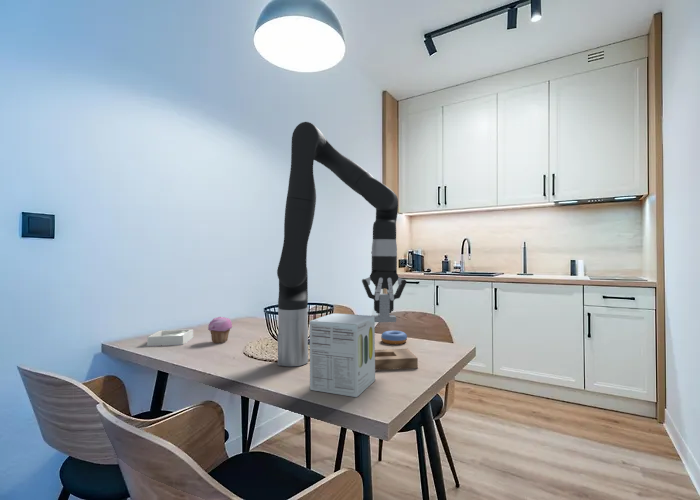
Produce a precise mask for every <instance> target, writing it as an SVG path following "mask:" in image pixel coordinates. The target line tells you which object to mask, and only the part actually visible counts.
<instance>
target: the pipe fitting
mask: <svg viewBox="0 0 700 500" xmlns="http://www.w3.org/2000/svg"><path fill="white" fill-rule="evenodd" d="M184 333H186V332H185V331H181V332H180V333H174V334H167V335H164V336H171V335H182V334H184Z"/></svg>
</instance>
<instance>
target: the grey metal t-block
mask: <svg viewBox="0 0 700 500" xmlns="http://www.w3.org/2000/svg"><path fill="white" fill-rule="evenodd" d="M370 316H374V317H375V323H396V322H397V316H396V315H394V314H393V315H392V314H391V313H390V295H389V294H388V293H380V296H379V313H377V314H371V315H370Z"/></svg>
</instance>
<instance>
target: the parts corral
mask: <svg viewBox="0 0 700 500" xmlns="http://www.w3.org/2000/svg"><path fill="white" fill-rule="evenodd" d="M181 331H185V332H186V333H184V334H182V335H171V336H164V335H167V334H174V333H180V332H181ZM193 338H194V329H193V328H192V329H167V330H166V329H165V330H164V329H162V330H161V329H160V330H158V331H156V332H154V333H152V334H151V335H149V336H147V339H146V340H147V341H146V342H147V344H146V345H147V347H148V346H149V347H157V346H159V347H161V345H162V346H183V345H184V344H186V343H188V342H189V341H190V340H192V339H193Z"/></svg>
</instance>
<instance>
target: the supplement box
mask: <svg viewBox="0 0 700 500" xmlns="http://www.w3.org/2000/svg"><path fill="white" fill-rule="evenodd" d="M375 324H376V322H375V317H374V316H371V315H370V314H369V315H367V314H366V315H365V314H354V313H353V314H352V313H351V314H350V313H334V312H333V313H332V312H331V313H330V314H327V315H323V316H320V317H318V318H314V319H312V320H309V390H310V391H317V392H321V393H328V394H334V395H339V396H340V395H341V396H347V397H353V398H358V397H359V396H360V395H361V394H362V393H363V392H364V391H366V389H367V388H369V387H370V386H371V385H372V384H373V383H374V382H375V381H376V370H375V350H376V345H375V344H376V342H375V341H376V340H375V338H376V337H375V335H376V334H375V329H376V328H375V327H376V326H375Z"/></svg>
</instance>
